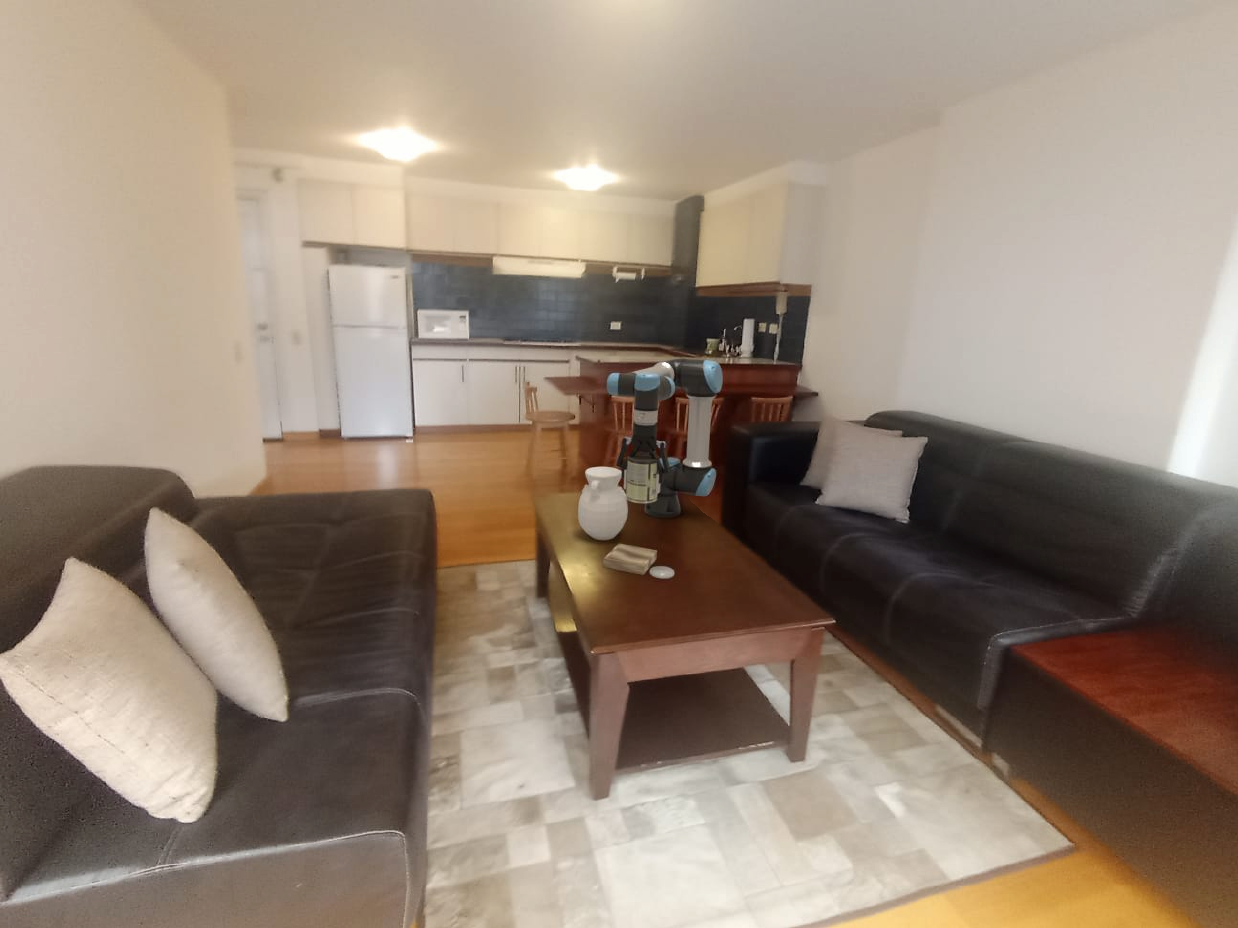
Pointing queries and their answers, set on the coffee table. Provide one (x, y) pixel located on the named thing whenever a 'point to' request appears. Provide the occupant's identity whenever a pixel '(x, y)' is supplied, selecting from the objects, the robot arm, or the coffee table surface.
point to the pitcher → (602, 503)
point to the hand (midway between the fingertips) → (641, 490)
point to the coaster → (662, 572)
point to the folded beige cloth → (630, 559)
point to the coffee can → (641, 478)
